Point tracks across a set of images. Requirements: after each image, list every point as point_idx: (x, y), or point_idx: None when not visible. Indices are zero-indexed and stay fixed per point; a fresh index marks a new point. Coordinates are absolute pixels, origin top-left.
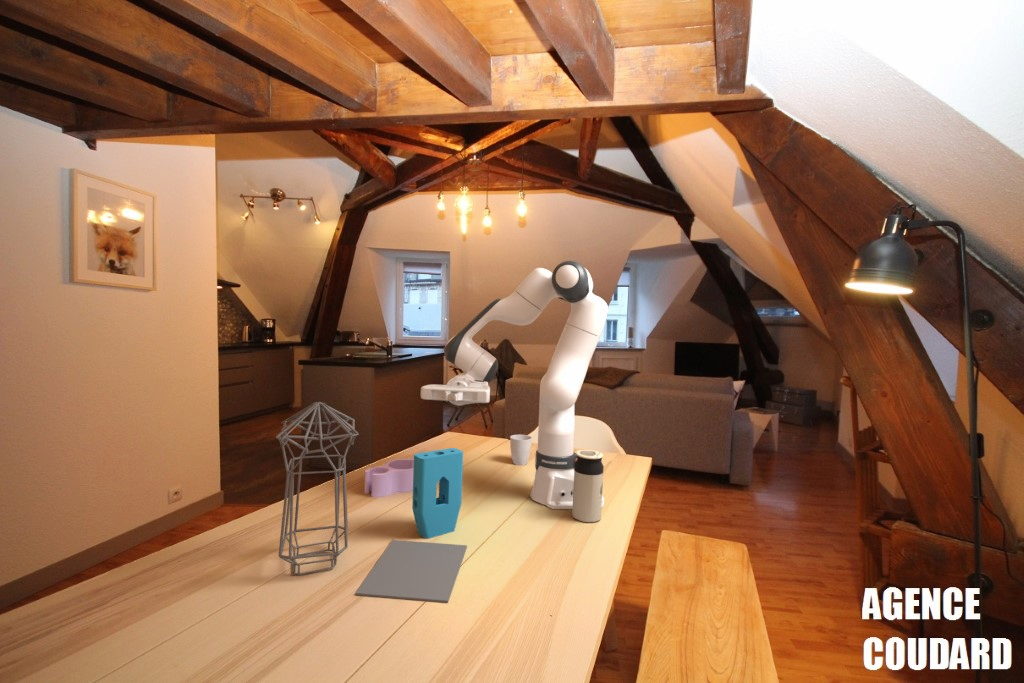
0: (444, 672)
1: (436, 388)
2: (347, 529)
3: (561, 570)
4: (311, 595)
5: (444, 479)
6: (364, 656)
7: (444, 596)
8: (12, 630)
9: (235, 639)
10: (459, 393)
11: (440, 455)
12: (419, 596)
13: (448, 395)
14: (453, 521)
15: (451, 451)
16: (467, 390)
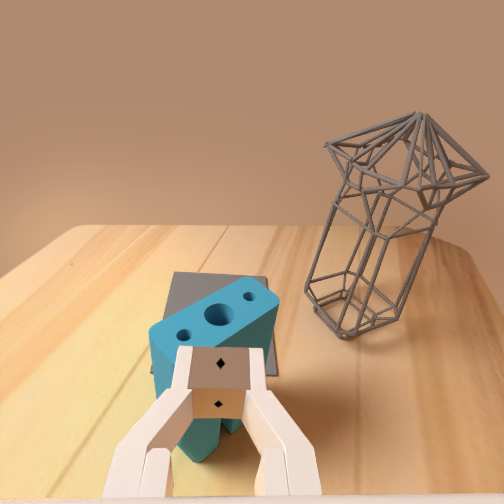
0: (172, 226)
1: (448, 498)
2: (334, 328)
3: (12, 328)
4: (304, 276)
5: None
6: (227, 233)
7: (178, 276)
8: (455, 245)
9: (319, 242)
10: (150, 408)
11: (211, 298)
12: (203, 275)
13: (242, 347)
14: None
15: (186, 342)
16: (31, 500)
